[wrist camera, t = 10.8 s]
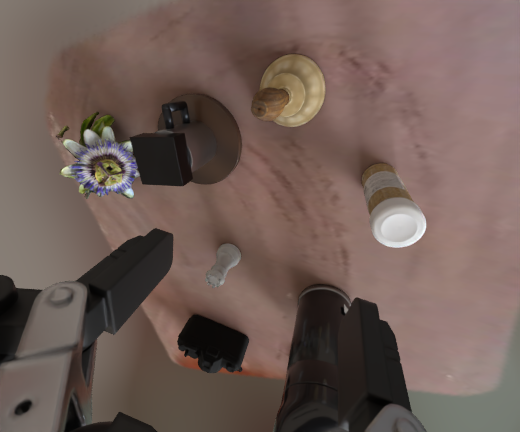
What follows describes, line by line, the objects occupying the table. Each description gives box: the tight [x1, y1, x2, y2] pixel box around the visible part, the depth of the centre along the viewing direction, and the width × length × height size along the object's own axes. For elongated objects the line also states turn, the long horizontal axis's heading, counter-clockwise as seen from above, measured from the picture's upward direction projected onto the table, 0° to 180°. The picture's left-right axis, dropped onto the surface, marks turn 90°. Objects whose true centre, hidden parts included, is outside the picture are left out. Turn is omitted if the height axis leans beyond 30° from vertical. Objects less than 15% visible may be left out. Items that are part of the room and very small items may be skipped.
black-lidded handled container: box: [130, 101, 217, 186], centre depth 33 cm, size 9×6×10 cm
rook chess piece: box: [205, 244, 241, 288], centre depth 44 cm, size 4×4×8 cm
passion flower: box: [56, 112, 140, 199], centre depth 41 cm, size 11×11×12 cm
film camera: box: [177, 315, 249, 373], centre depth 57 cm, size 15×10×9 cm, turn 74°
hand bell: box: [251, 54, 325, 127], centre depth 26 cm, size 8×8×16 cm
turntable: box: [158, 94, 242, 184], centre depth 39 cm, size 13×13×1 cm
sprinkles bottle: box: [362, 163, 426, 247], centre depth 29 cm, size 5×5×13 cm
